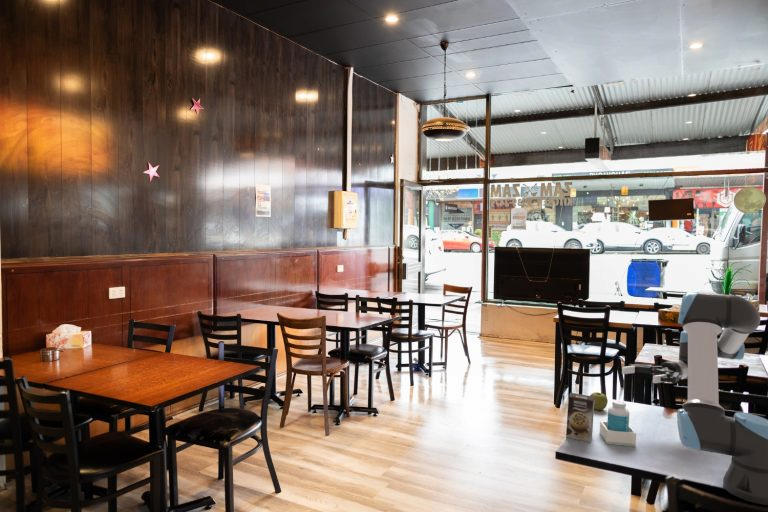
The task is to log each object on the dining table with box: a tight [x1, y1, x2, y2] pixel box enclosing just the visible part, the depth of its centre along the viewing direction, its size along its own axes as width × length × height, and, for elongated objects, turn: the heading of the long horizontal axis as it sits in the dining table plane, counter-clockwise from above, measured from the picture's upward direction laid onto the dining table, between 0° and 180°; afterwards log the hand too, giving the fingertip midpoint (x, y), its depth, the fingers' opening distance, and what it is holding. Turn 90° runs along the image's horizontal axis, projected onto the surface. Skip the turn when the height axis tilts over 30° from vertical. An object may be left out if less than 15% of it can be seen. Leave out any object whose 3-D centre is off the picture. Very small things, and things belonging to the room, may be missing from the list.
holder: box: [599, 420, 637, 447], centre depth 196 cm, size 10×10×5 cm
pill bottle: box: [606, 400, 630, 432], centre depth 196 cm, size 8×7×14 cm
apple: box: [589, 392, 608, 411], centre depth 231 cm, size 8×8×7 cm
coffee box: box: [565, 392, 595, 443], centre depth 197 cm, size 9×6×16 cm
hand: (637, 374), depth 200 cm, fingers open, 13 cm apart
